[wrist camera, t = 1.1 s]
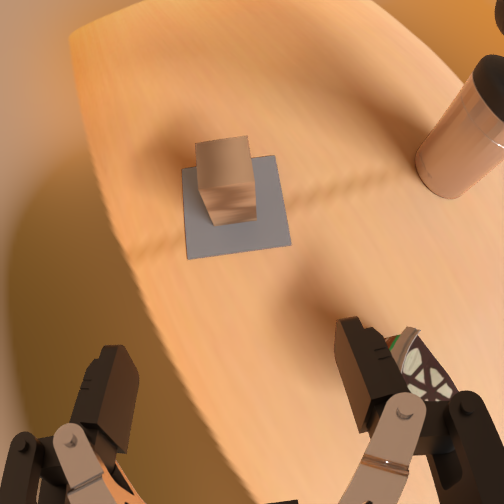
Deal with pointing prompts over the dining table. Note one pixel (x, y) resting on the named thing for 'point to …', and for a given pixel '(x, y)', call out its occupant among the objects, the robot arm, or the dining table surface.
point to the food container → (420, 367)
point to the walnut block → (226, 180)
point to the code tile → (239, 234)
